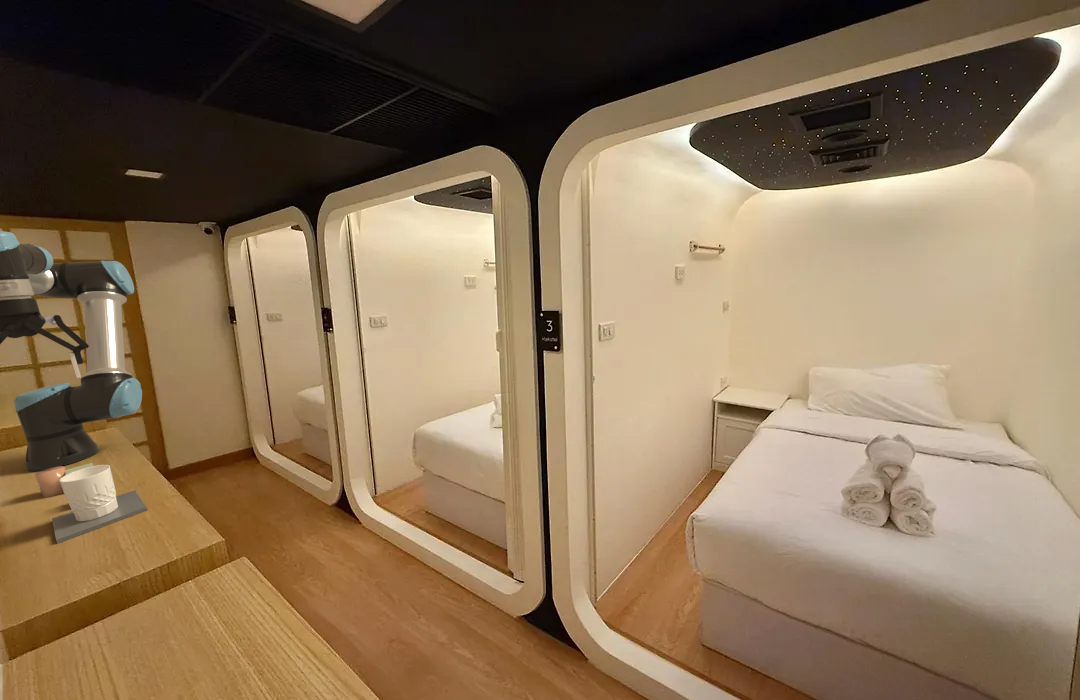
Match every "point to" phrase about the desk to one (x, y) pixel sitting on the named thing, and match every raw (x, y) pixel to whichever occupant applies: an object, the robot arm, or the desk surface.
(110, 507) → the white cup
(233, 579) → the desk surface
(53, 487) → the copper rounded block
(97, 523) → the coaster
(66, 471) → the sage block
